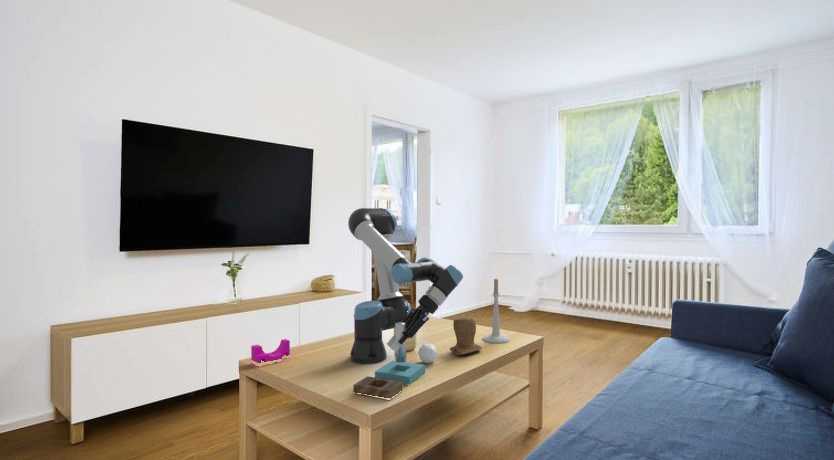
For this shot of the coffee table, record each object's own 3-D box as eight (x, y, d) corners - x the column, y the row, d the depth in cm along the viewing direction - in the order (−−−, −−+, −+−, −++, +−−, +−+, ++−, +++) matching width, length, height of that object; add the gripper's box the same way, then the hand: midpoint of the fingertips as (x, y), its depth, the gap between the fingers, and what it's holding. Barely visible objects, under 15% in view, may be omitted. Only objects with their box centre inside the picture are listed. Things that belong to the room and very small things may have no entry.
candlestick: (478, 341, 215) (478, 278, 214) (488, 335, 226) (488, 275, 225) (503, 344, 208) (503, 280, 208) (513, 338, 219) (513, 277, 219)
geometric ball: (430, 367, 185) (440, 350, 187) (430, 366, 178) (440, 349, 180) (415, 357, 187) (425, 340, 189) (413, 355, 179) (424, 338, 181)
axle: (393, 361, 166) (393, 324, 166) (398, 358, 170) (398, 321, 169) (403, 363, 164) (403, 325, 164) (408, 359, 168) (407, 322, 168)
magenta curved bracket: (258, 367, 178) (257, 348, 178) (251, 364, 182) (251, 345, 182) (292, 359, 188) (292, 341, 188) (285, 356, 193) (285, 338, 193)
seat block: (374, 379, 164) (374, 371, 164) (392, 367, 176) (392, 360, 176) (409, 385, 158) (409, 376, 158) (425, 372, 171) (425, 365, 171)
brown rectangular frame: (353, 393, 150) (353, 384, 150) (367, 384, 159) (367, 376, 159) (390, 400, 145) (390, 391, 145) (402, 390, 153) (402, 382, 153)
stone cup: (465, 345, 207) (465, 313, 207) (485, 351, 198) (485, 317, 198) (442, 352, 197) (442, 318, 197) (462, 358, 188) (462, 323, 188)
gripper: (417, 290, 178) (377, 336, 172) (434, 297, 162) (390, 347, 156) (429, 302, 180) (390, 348, 174) (447, 310, 164) (405, 360, 158)
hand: (391, 347), depth 165 cm, fingers closed on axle, 4 cm apart
